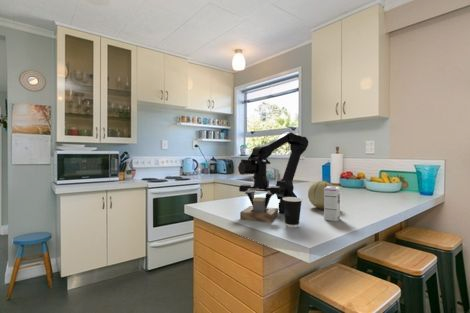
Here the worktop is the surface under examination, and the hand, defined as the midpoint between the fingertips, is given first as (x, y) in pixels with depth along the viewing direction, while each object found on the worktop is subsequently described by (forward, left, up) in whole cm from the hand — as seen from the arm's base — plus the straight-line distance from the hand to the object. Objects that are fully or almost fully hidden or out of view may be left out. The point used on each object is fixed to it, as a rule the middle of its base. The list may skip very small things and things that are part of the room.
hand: (259, 207), depth 116 cm
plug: (0, 0, -4) cm, 4 cm away
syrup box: (-31, -9, -4) cm, 33 cm away
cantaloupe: (-26, -30, -4) cm, 40 cm away
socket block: (0, 0, -4) cm, 4 cm away
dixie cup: (-16, +8, -4) cm, 18 cm away
